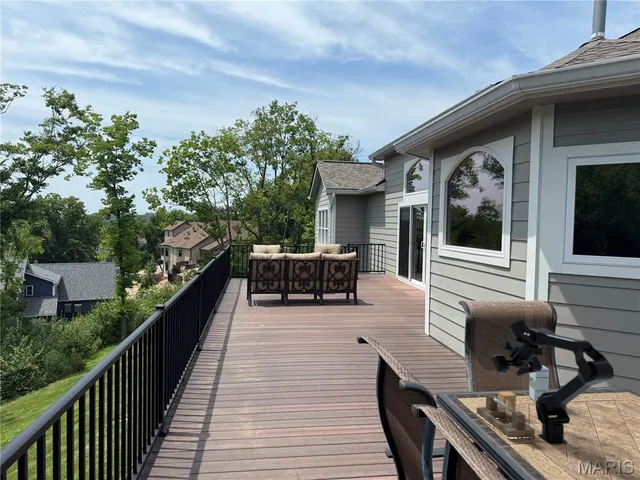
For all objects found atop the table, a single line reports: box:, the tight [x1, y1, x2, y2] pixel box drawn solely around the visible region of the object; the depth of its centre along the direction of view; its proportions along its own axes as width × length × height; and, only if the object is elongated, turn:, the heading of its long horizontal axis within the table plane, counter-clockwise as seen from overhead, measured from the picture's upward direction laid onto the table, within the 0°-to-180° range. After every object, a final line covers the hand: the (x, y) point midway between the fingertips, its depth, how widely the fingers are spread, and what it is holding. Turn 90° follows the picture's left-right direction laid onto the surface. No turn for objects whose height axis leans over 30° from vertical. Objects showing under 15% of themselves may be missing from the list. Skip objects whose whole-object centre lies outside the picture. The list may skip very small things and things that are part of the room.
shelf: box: [476, 394, 536, 438], centre depth 158 cm, size 20×10×8 cm, turn 11°
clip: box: [497, 391, 517, 414], centre depth 170 cm, size 4×5×8 cm
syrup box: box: [528, 364, 550, 403], centre depth 184 cm, size 6×6×14 cm
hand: (507, 374), depth 172 cm, fingers open, 9 cm apart
